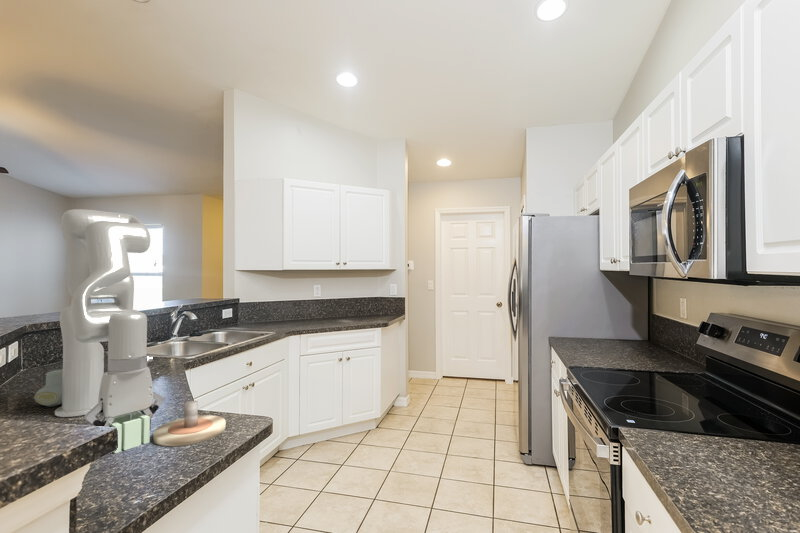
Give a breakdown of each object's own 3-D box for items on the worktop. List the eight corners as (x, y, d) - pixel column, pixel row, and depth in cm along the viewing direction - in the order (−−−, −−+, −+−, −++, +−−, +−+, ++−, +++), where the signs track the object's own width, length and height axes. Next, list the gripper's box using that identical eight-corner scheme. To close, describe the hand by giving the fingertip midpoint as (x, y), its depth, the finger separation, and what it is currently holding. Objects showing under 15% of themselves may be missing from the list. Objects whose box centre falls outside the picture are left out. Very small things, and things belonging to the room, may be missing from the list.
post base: (141, 436, 95) (141, 405, 95) (204, 416, 108) (204, 389, 109) (173, 452, 86) (174, 418, 86) (238, 428, 100) (238, 399, 100)
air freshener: (28, 408, 117) (28, 374, 117) (53, 399, 125) (53, 368, 125) (64, 407, 116) (64, 374, 117) (86, 398, 125) (86, 367, 125)
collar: (102, 445, 90) (103, 420, 90) (136, 435, 96) (136, 411, 96) (115, 453, 86) (115, 426, 86) (149, 442, 92) (149, 416, 92)
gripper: (159, 356, 101) (158, 425, 100) (76, 369, 86) (74, 450, 86) (173, 359, 96) (172, 431, 96) (88, 374, 82) (87, 458, 81)
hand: (126, 439), depth 91 cm, fingers closed on collar, 7 cm apart
